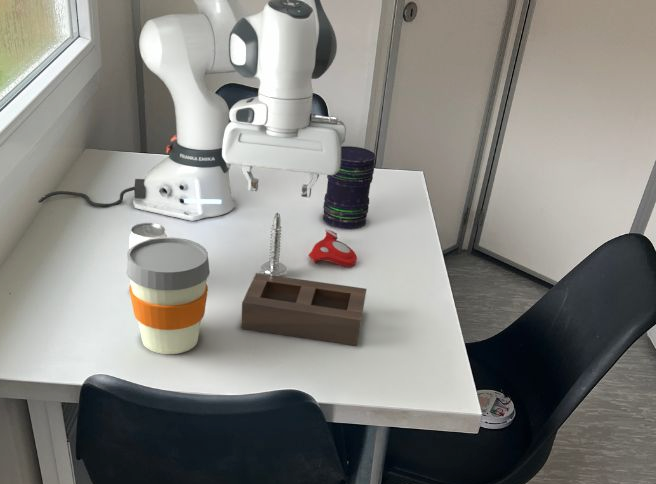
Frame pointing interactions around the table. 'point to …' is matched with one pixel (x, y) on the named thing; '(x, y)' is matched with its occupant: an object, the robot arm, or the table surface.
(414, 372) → the table surface
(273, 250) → the screw
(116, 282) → the table surface
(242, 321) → the holder
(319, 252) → the tracker holder
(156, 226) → the can
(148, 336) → the reusable coffee cup
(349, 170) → the dark blue cylinder
